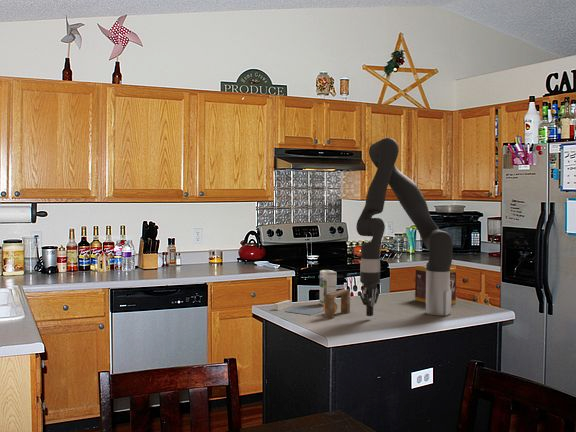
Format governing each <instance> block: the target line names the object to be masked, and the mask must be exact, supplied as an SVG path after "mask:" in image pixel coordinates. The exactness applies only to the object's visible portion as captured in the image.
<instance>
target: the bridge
mask: <svg viewBox="0 0 576 432" xmlns="http://www.w3.org/2000/svg"><path fill="white" fill-rule="evenodd" d="M334 297H336V298H337V297H340V314H350V313H351V289H345V288H342V289H340V290H339V289H338V290H336V291H335V292H331V293H328V294H325V311H324V318H325V319H329V320H332V319H335V313H334Z"/></svg>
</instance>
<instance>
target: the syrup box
mask: <svg viewBox="0 0 576 432" xmlns="http://www.w3.org/2000/svg"><path fill="white" fill-rule="evenodd" d="M337 275H338V274H337V271H334V270H330V269H322V270H319V302H318V303H319V304H320V305H322V306H324V303H325V294H328V293H331V292H335V291H337V283H338V282H337ZM334 302H335V303H336V304H337V297H334Z"/></svg>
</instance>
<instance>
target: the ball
mask: <svg viewBox="0 0 576 432" xmlns="http://www.w3.org/2000/svg"><path fill="white" fill-rule="evenodd" d="M322 307H323V310H324V311H323V312H325V303H324V305H322ZM337 310H338V304H337V302H336V303H335V302H334V314H335V313H336V312H337Z"/></svg>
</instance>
